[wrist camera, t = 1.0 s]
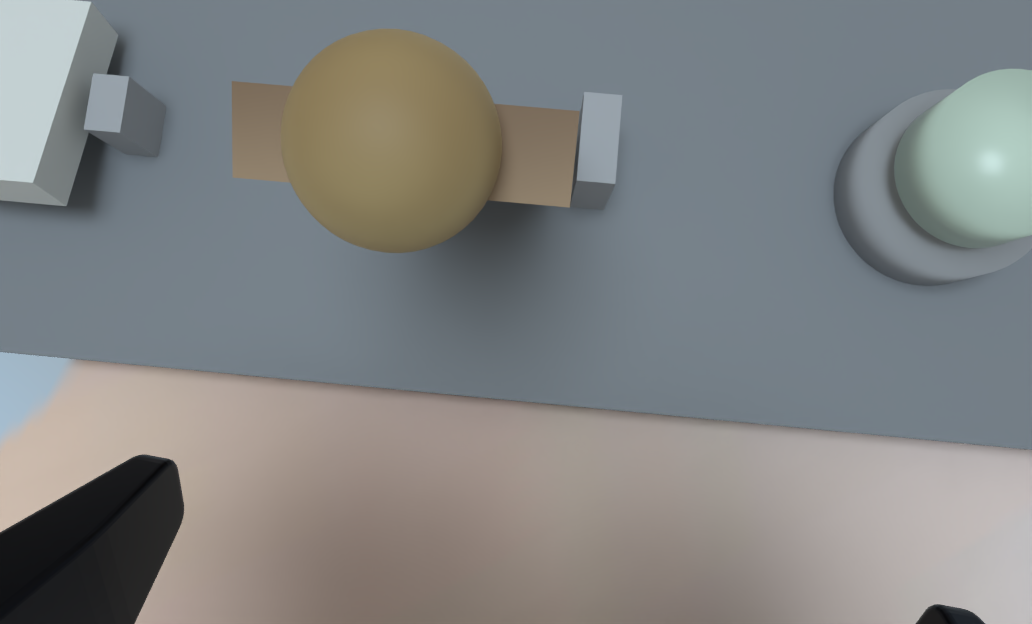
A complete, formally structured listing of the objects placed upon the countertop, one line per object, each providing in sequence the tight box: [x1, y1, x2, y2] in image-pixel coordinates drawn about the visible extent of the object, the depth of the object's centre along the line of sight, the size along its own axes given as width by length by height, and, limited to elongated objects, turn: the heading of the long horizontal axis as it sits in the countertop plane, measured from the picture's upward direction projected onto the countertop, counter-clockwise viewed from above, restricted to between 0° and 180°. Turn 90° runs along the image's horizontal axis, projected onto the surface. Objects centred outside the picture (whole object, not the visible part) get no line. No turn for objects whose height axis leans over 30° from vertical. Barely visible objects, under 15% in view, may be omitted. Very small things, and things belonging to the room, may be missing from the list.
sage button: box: [894, 69, 1032, 248], centre depth 17 cm, size 4×4×2 cm
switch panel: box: [0, 0, 1032, 450], centre depth 20 cm, size 14×38×4 cm, turn 85°
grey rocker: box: [0, 0, 118, 206], centre depth 19 cm, size 6×4×1 cm, turn 175°
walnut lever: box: [232, 29, 580, 253], centre depth 14 cm, size 3×4×14 cm, turn 84°
